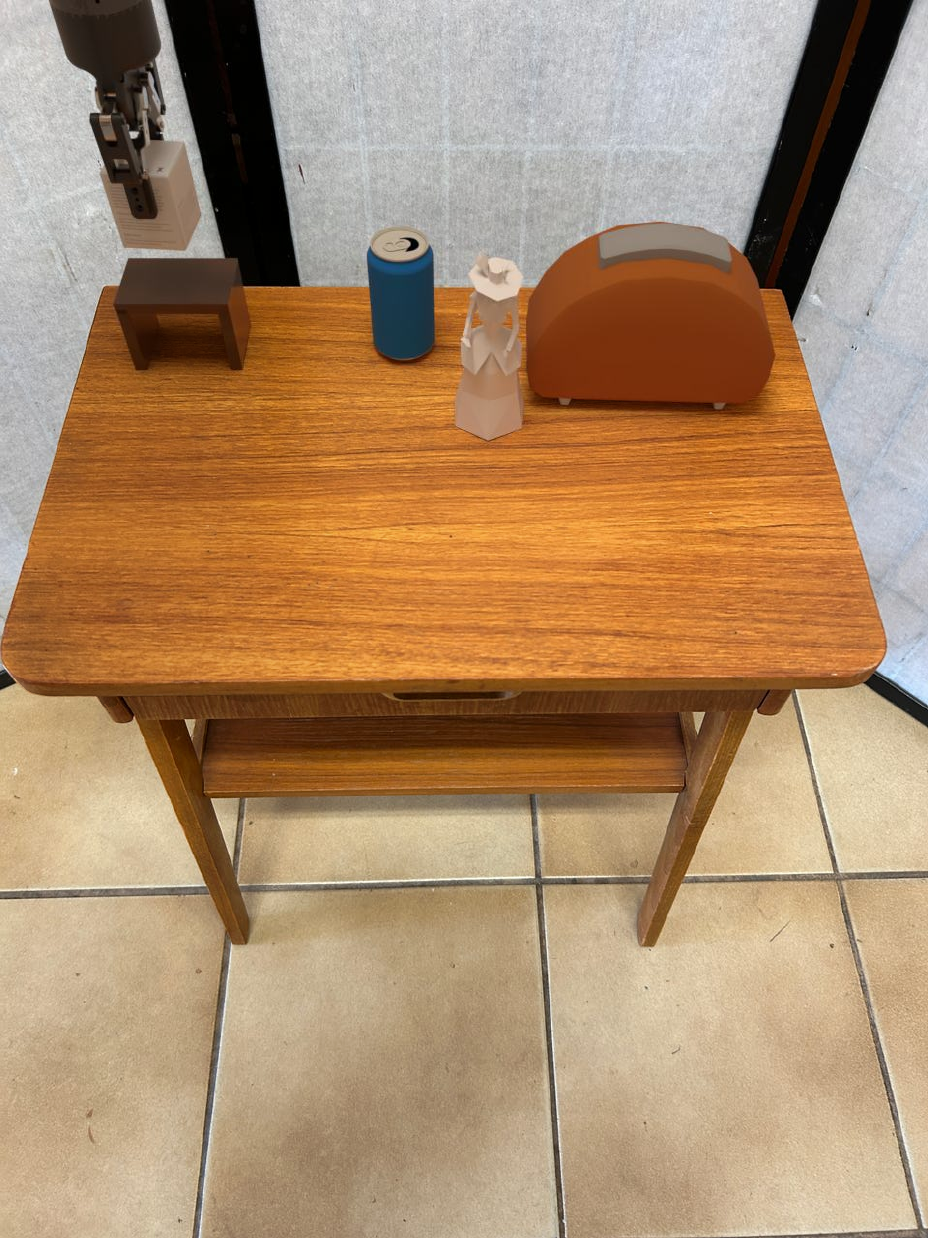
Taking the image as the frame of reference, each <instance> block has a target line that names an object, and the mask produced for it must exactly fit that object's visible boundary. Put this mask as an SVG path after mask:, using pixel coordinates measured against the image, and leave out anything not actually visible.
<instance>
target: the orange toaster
mask: <svg viewBox="0 0 928 1238" xmlns="http://www.w3.org/2000/svg"><path fill="white" fill-rule="evenodd" d="M525 347H526V348H525V349H526V350H525V351H526V352H525V353H526V354H525V355H526V359H525V360H526V361H525V362H526V363H525V365H526V376H527V381H528V385H529V388H530V390H531V391H533V392H535V393H536V394H538V395H539V396H541V397H542V398H552V399H558V400H559V401H558V402H559V404H560V405H561V406H569V404H571V400H597V401H598V400H602V401H603V400H604V401H634V402H635V401H640V402H670V403H671V402H673V403H674V402H675V403H676V402H677V403H702V404H703V403H706V404H707V403H709V404H712V405H713V410H723V409H724V406H725V405H726V404H743V403H745V402H748V401H750V400H752V399H754V398H757V397H758V396H759V395H760V394H761V393H762V391H763V389H764V388H765V386H766V384H767V382H768V381H769V378H770V375H771V372H772V369H773V365H774V362H775V358H776V351H775V347H774V343H773V338H772V334H771V330H770V326H769V322H768V317H767V314H766V310H765V306H764V301H763V298H762V292H761V290H760V285H759V282H758V278H757V276H756V274H755V272H754V270H753V268H752V266H751V263H750V262H749V260H748V257H746V256H745V255H744V254H743V253H742V252H741V251H739V250H738V249H737V248H736V247H734V246H733V245H732V244H731V243H730V242H729V240H728V238H726V236H722V235H721V234H717V233H714V232H712V231H710V230H707V229H706V228H704V227H701V226H694V225H687V224H681V223H680V224H679V223H673V222H665V221H652V222H643V223H642V222H639V223H629V224H617V225H614V226H612V227H610V228H608V229H605V230H602V231H600V232H597V233H594V234H593V235H590V236H588V237H586V238H585V239H583V240H581V241H579V242H578V243H576V244H575V245H573V246H571V247H570V248H568V249H566V250H564V252H562V254H561V255H560V256H559V257H558V258H557V259H556V260H555V261H554V262H553V263H552V264H551V265H550V266H549V267H548V268H547V270H546V271H545V272H544V274H542V277H541V279H540V280H539V282H538V283H537V285H536V286H535V288H534V290H533V292H532V293H531V295H530V296H529V298H528V302H527V310H526V317H525Z"/></svg>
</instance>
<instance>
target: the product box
mask: <svg viewBox="0 0 928 1238" xmlns="http://www.w3.org/2000/svg"><path fill="white" fill-rule="evenodd" d="M135 153H136V151H135ZM123 160H124V159H123ZM146 160H147V167H148V171H149V178H150V182H151V185H152V189H153V193H154V197H155V201H156V204H157V208H158V214H157V217H156V218H155V219H136V218H134V217H133V216H132V214H131V210H130V207H129V204H128V200H127V197H126V193H125V190H124V186H123V184H112V183H111V182H110V179H109V177H108V174H107V171H106V168H105V165H104V164H103V167H102V168H101V170H100V172H99V176H100V179H101V182H102V186H103V188H104V191H105V194H106V198H107V201H108V204H109V207H110V211H111V213H112V217H113V219H114V223H115V226H116V229H117V232H118V235H119V238H120V241H121V245H122V247H123V248H124V249H141V250H165V251H179V252H184V251H187V249H188V246H189V245H190V242H191V240H192V237H193V235H194V233H195V231H196V229H197V226H198V224H199V222H200V220H201V217H202V211H201V207H200V203H199V197H198V193H197V190H196V185H195V181H194V177H193V172H192V168H191V164H190V160H189V156H188V152H187V147H186V143H185V141H178V140H175V141H174V140H164V141H160V140H150V146H149V148H147V149H146ZM124 164H128V162H127V161H126V160H124Z"/></svg>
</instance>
